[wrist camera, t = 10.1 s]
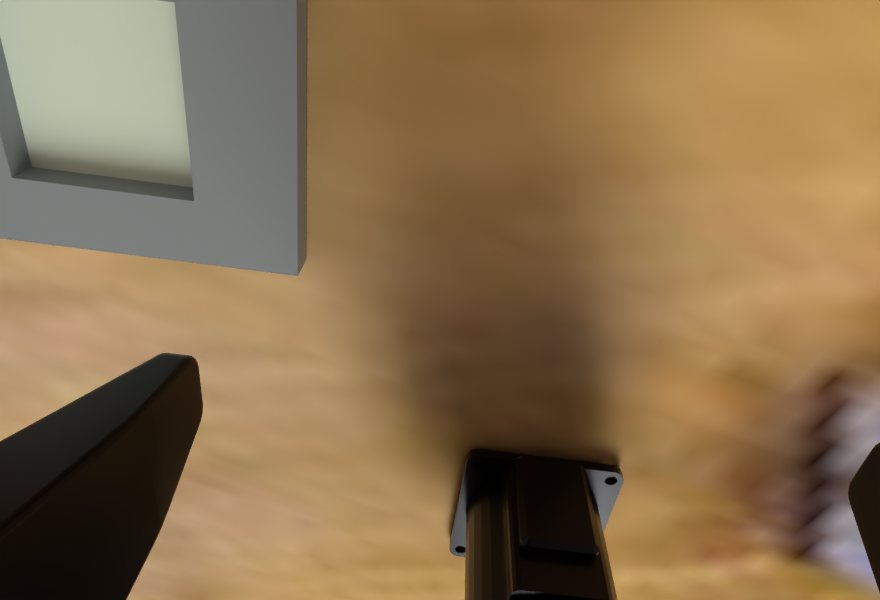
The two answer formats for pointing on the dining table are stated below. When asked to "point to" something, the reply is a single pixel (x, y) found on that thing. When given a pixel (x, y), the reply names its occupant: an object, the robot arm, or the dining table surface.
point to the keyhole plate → (157, 128)
